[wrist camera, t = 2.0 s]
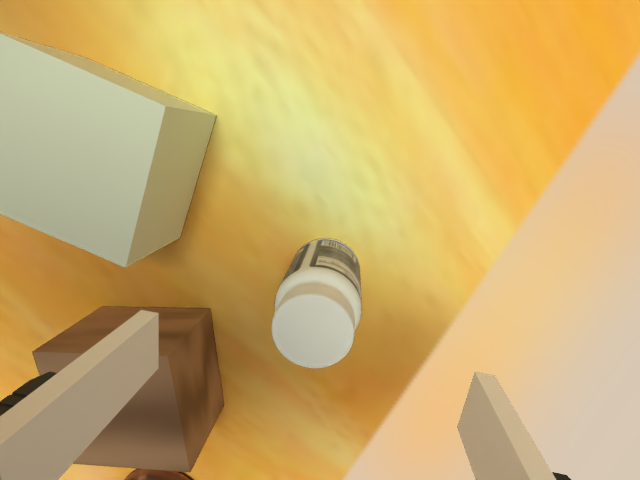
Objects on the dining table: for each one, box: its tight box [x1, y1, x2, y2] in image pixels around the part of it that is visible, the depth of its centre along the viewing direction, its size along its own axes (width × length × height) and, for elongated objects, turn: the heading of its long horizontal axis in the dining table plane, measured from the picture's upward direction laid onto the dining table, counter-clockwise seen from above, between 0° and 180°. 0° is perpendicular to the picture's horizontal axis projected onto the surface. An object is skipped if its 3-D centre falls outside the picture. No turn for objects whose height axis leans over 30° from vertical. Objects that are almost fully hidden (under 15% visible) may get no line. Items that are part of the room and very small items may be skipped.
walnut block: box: [32, 307, 224, 472], centre depth 25 cm, size 9×9×6 cm
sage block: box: [0, 32, 216, 268], centre depth 20 cm, size 9×9×6 cm
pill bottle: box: [271, 238, 362, 368], centre depth 20 cm, size 5×5×8 cm
